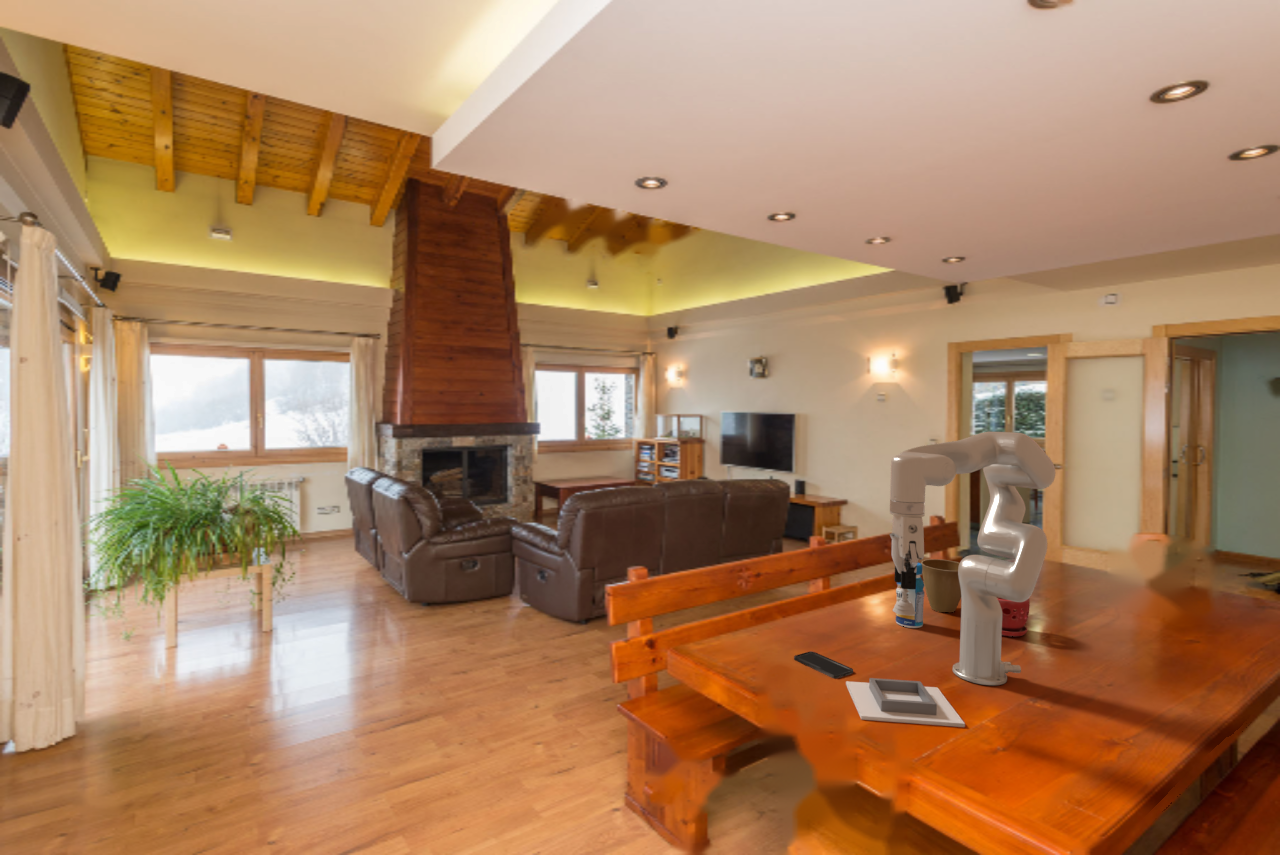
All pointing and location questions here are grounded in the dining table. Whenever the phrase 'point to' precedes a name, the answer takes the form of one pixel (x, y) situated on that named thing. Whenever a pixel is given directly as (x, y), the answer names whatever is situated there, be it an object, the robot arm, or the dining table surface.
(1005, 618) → the plant pot
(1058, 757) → the dining table surface
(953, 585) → the plant pot
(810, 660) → the phone
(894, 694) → the holder
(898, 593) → the beverage bottle
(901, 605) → the chalice
